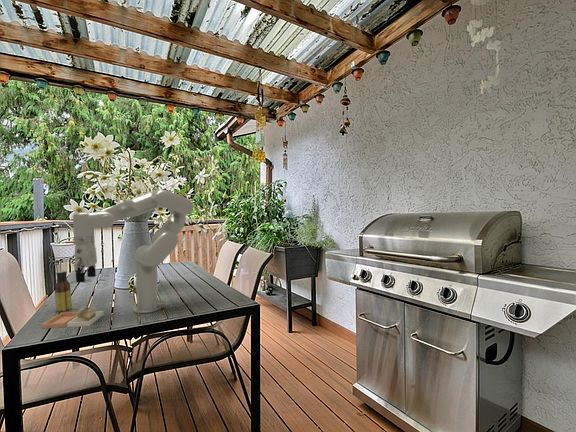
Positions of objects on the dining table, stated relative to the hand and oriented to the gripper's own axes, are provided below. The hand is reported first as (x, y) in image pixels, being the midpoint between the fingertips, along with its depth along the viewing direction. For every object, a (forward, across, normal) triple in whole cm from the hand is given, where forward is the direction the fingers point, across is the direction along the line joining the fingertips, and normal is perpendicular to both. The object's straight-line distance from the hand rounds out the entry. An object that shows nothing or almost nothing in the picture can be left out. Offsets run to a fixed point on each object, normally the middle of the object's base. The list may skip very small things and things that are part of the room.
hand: (86, 279), depth 139 cm
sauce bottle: (+19, +16, +18) cm, 31 cm away
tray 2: (+19, 0, 0) cm, 19 cm away
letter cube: (+18, 0, 0) cm, 18 cm away
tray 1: (+19, 0, +10) cm, 21 cm away
